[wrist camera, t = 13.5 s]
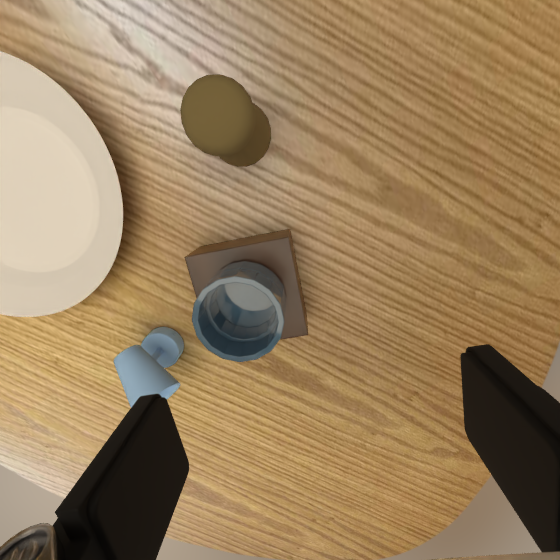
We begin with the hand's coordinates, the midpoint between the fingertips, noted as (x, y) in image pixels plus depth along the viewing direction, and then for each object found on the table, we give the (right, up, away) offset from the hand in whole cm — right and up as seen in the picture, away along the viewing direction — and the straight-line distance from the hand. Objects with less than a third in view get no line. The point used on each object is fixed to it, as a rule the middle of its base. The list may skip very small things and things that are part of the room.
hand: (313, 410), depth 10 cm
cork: (-5, +18, +22) cm, 29 cm away
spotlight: (-14, -4, +29) cm, 33 cm away
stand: (-4, +4, +26) cm, 27 cm away
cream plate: (-28, +13, +25) cm, 40 cm away
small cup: (-4, +2, +22) cm, 22 cm away
